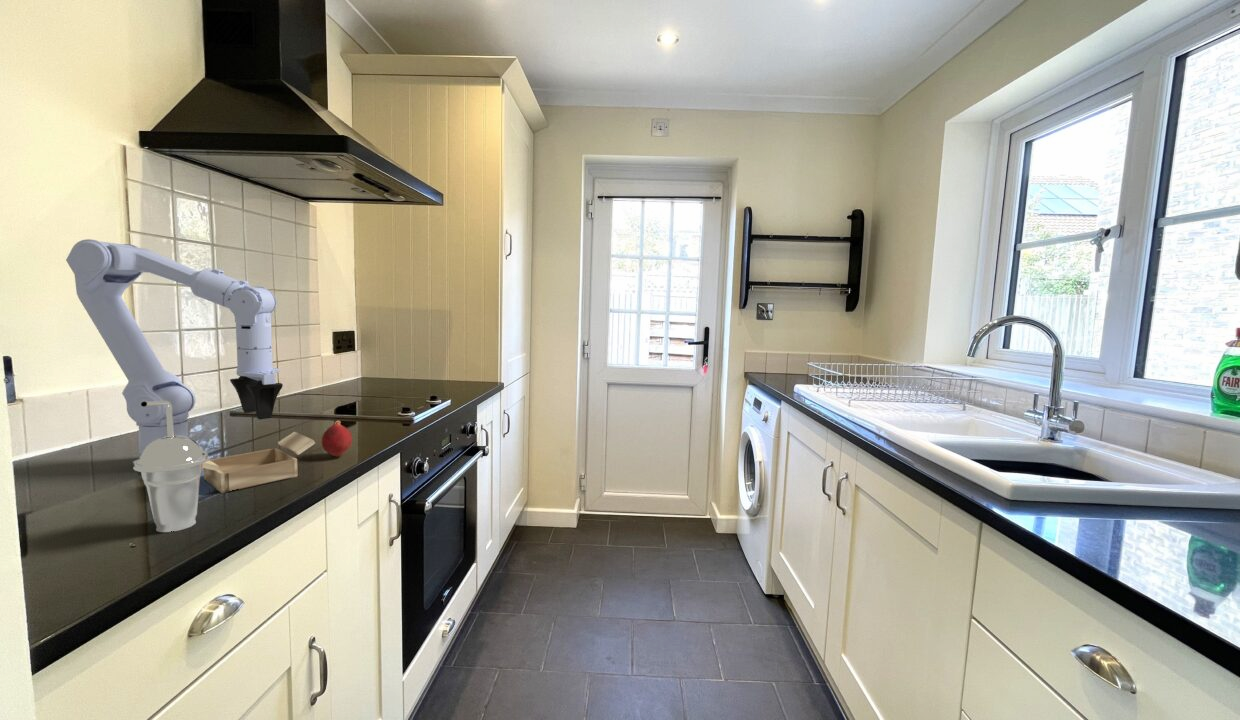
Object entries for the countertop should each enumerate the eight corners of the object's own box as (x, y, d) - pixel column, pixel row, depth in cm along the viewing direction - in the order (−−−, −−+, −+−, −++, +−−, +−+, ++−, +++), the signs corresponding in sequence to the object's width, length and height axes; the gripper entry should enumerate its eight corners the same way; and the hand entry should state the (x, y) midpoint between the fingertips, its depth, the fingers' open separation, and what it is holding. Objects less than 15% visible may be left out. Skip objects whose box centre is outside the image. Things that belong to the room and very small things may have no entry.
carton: (203, 478, 95) (202, 460, 95) (276, 464, 105) (275, 447, 104) (222, 494, 89) (221, 474, 88) (298, 476, 98) (298, 459, 98)
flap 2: (294, 431, 106) (296, 434, 106) (277, 442, 104) (279, 445, 104) (313, 440, 101) (315, 443, 101) (296, 452, 98) (298, 455, 99)
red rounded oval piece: (339, 462, 108) (338, 425, 107) (315, 459, 109) (314, 422, 108) (358, 454, 113) (357, 419, 112) (335, 451, 115) (335, 417, 114)
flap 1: (203, 455, 94) (200, 459, 94) (180, 449, 91) (178, 454, 91) (219, 466, 89) (216, 470, 89) (195, 460, 86) (193, 465, 86)
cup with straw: (226, 518, 80) (220, 392, 77) (162, 544, 71) (153, 403, 69) (185, 510, 82) (178, 387, 79) (117, 535, 73) (107, 397, 71)
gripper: (292, 350, 100) (294, 418, 101) (264, 344, 109) (266, 406, 110) (249, 352, 94) (252, 424, 96) (223, 345, 103) (226, 411, 104)
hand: (257, 415), depth 103 cm, fingers open, 7 cm apart
